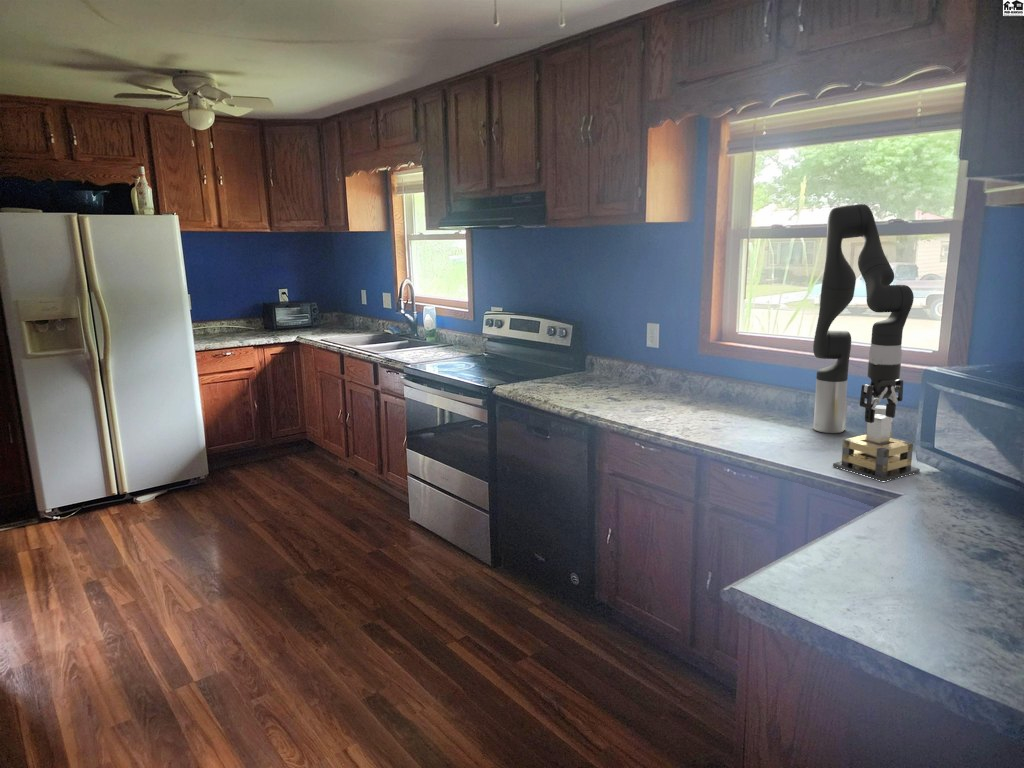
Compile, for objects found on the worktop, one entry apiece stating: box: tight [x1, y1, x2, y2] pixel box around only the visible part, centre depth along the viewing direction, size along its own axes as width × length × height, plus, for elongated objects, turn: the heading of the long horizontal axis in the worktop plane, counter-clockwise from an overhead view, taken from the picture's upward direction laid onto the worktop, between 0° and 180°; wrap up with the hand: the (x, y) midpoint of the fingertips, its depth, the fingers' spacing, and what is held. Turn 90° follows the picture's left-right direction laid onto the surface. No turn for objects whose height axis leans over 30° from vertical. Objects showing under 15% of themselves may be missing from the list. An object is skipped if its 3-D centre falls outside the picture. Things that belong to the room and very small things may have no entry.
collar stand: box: [832, 433, 921, 482], centre depth 180 cm, size 15×15×8 cm
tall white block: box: [865, 414, 893, 459], centre depth 180 cm, size 4×4×14 cm
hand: (879, 419), depth 178 cm, fingers open, 8 cm apart
